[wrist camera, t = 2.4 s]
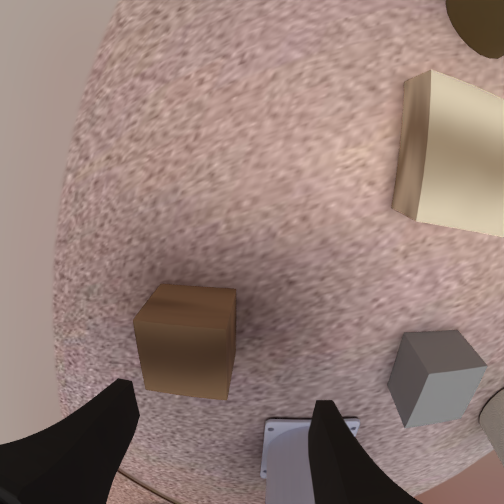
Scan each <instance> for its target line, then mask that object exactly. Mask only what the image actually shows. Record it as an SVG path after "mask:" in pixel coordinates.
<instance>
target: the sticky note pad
mask: <svg viewBox="0 0 504 504" xmlns="http://www.w3.org/2000/svg"><path fill="white" fill-rule="evenodd" d="M391 208H392V209H394V210H396V211H398V212H400V213H402V214H403V215H405V216H407V217H409V218H411V219H412V220H414V221H416V222H422V223H428V224H434V225H440V226H446V227H451V228H457V229H462V230H468V231H473V232H478V233H483V234H488V235H493V236H498V237H503V238H504V99H502V98H500V97H498V96H496V95H494V94H492V93H489V92H487V91H485V90H483V89H480V88H478V87H476V86H473V85H471V84H469V83H466V82H464V81H461V80H459V79H456V78H453V77H451V76H448V75H445V74H442V73H440V72H437V71H434V70H429V71H427V72H425V73H422V74H420V75H418V76H416V77H414V78H411V79H409V80H407V81H405V82H404V100H403V115H402V128H401V139H400V148H399V157H398V166H397V173H396V181H395V188H394V194H393V201H392V207H391Z"/></svg>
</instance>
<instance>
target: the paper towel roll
mask: <svg viewBox="0 0 504 504" xmlns="http://www.w3.org/2000/svg"><path fill="white" fill-rule="evenodd" d="M479 422H480V425H481V427H482V428H483V430H484V432H485V434H486V435H487V437H488V439H489V441H490V442H491V444H492V446H493V448H494V450H495V451H496V453H497V455H498V457H499V459H500V461H501V463H502V464H503V467H504V389H503V390H501V391H500V392H498V393H497V394H496V395H495V396H494V397H493V398H492V399H491V400H490V401H489V402H488V403H487V405H486V406H485V407H484V409H483V411H482V413H481V415H480V420H479Z"/></svg>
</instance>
